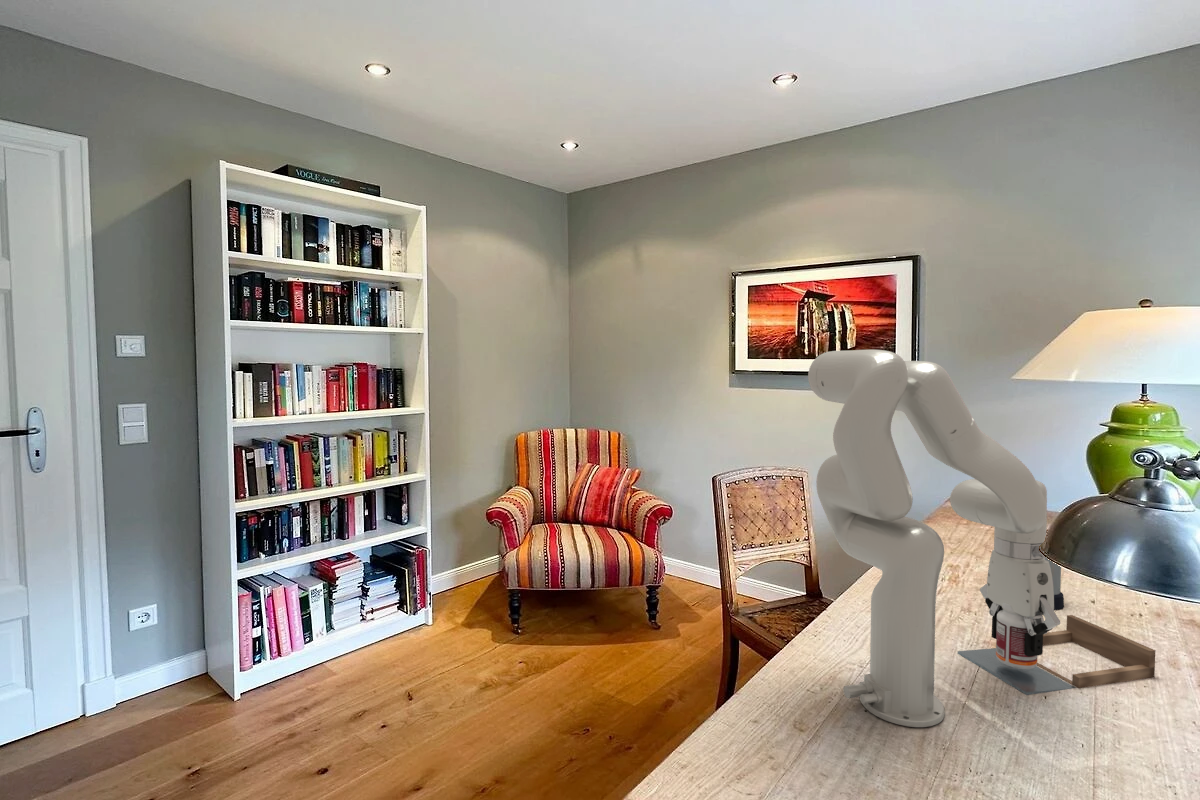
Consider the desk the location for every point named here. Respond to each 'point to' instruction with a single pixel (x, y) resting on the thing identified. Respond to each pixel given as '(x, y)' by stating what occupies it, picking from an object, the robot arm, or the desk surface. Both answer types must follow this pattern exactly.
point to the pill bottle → (1012, 639)
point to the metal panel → (1016, 673)
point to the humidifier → (1056, 583)
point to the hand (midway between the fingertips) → (1016, 645)
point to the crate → (1104, 654)
